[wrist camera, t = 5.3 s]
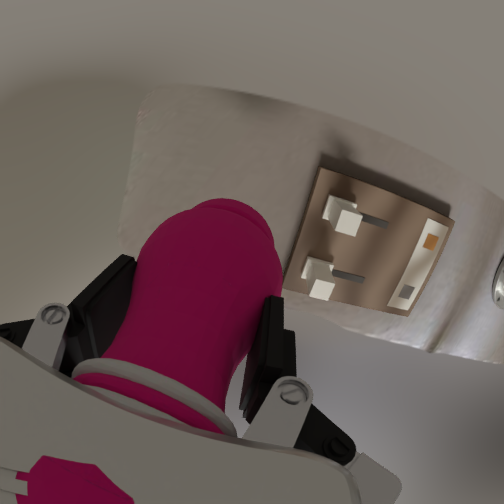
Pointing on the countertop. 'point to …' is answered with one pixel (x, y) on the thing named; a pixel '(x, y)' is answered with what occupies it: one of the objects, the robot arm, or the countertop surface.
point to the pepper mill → (176, 335)
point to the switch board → (370, 245)
